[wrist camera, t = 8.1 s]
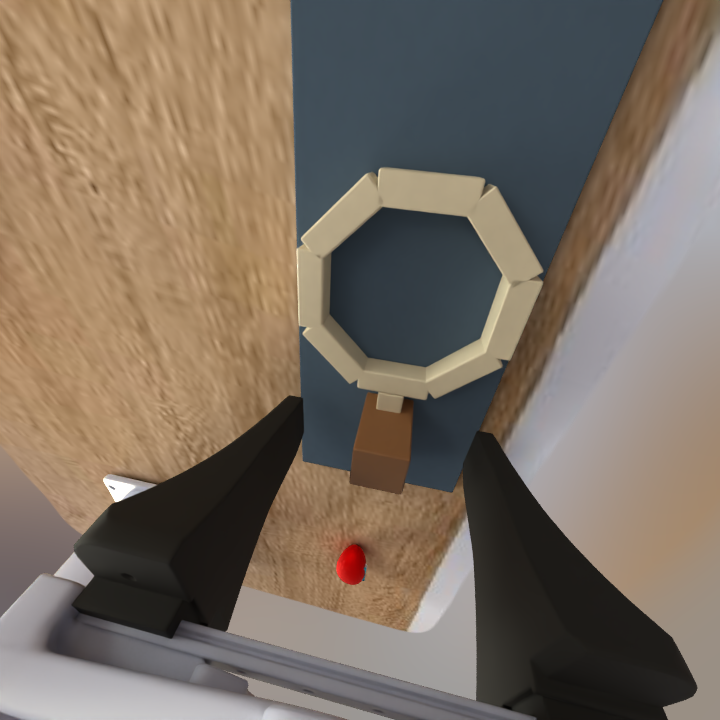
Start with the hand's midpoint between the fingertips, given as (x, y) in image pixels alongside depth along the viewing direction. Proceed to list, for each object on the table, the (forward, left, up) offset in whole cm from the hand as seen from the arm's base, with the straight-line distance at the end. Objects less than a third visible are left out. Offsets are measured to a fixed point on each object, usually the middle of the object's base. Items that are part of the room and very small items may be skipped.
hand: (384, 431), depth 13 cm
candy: (-13, 0, -2) cm, 14 cm away
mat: (+6, 0, -1) cm, 6 cm away
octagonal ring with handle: (+3, 0, -1) cm, 4 cm away
